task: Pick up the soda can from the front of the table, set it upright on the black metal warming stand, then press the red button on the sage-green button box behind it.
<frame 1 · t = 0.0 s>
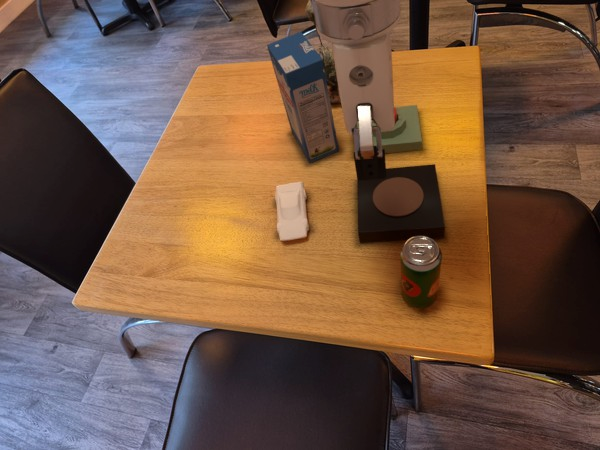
hand: (370, 146, 52), 22 cm above the table, tool pointing down, fingers open, 9 cm apart
plant with pod: (336, 95, 94), on the table
stand: (398, 208, 73), on the table
button box: (386, 134, 84), on the table
milk carton: (315, 142, 87), on the table
soda can: (419, 295, 64), on the table
red button: (385, 116, 80), point 4 cm above the table, slide at 0.1 cm
toy car: (293, 216, 77), on the table
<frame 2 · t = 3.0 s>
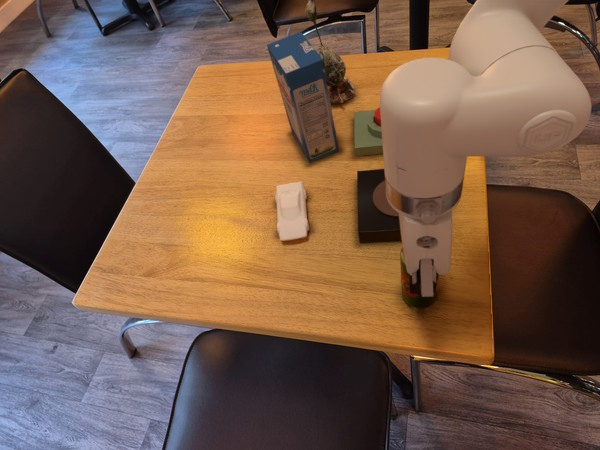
hand: (420, 270, 58), 7 cm above the table, tool pointing down, fingers closed on soda can, 5 cm apart
soda can: (419, 295, 64), on the table, touching gripper
everything else where it was.
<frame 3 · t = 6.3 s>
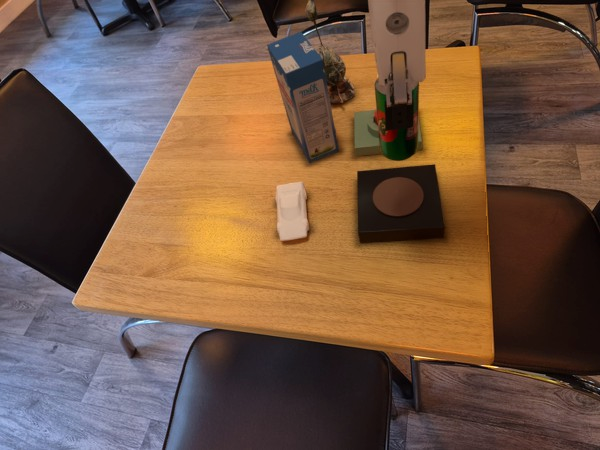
hand: (397, 110, 54), 22 cm above the table, tool pointing down, fingers closed on soda can, 5 cm apart
soda can: (398, 150, 60), point 15 cm above the table, touching gripper
everything else where it was.
when the fingers open (10 cm above the table, at t = 9.6 s): soda can stays where it is, resting on stand.
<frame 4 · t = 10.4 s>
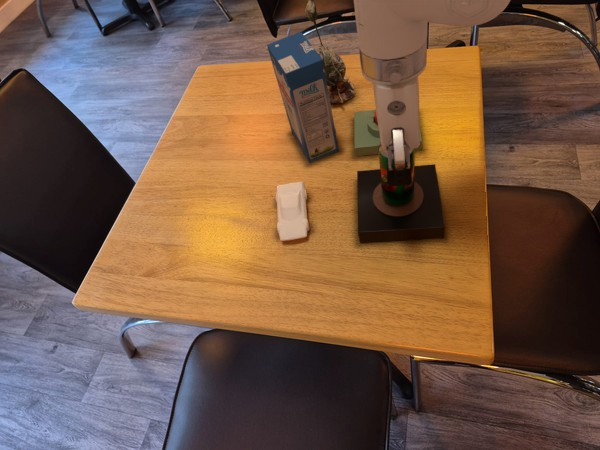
hand: (397, 158, 64), 12 cm above the table, tool pointing down, fingers open, 9 cm apart
soda can: (398, 196, 71), point 3 cm above the table, touching stand
everything else where it was.
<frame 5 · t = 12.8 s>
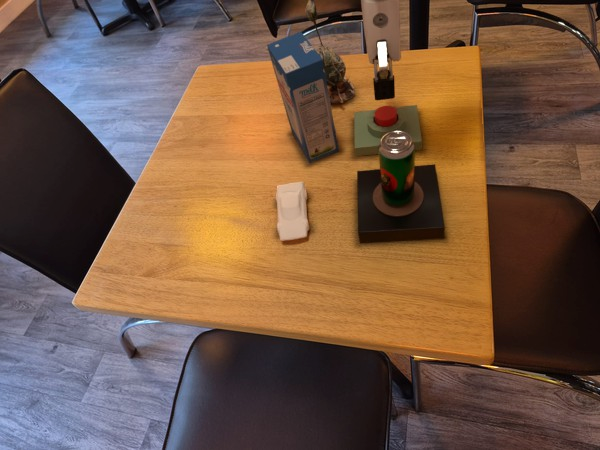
hand: (383, 79, 74), 13 cm above the table, tool pointing down, fingers open, 9 cm apart
nothing on the table moved.
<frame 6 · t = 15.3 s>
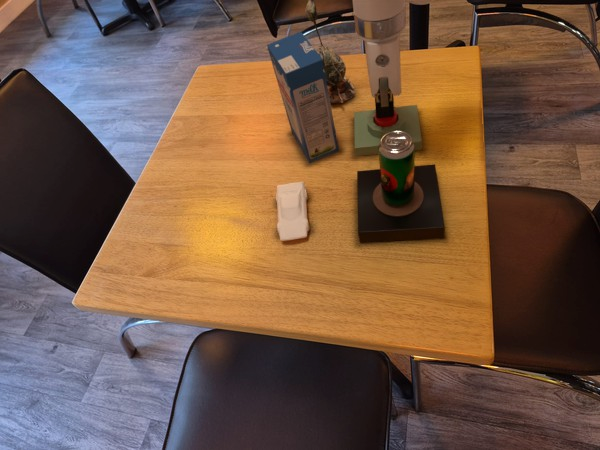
hand: (385, 114, 80), 5 cm above the table, tool pointing down, fingers closed
red button: (385, 118, 81), point 4 cm above the table, slide at -0.4 cm, touching gripper
everything else where it was.
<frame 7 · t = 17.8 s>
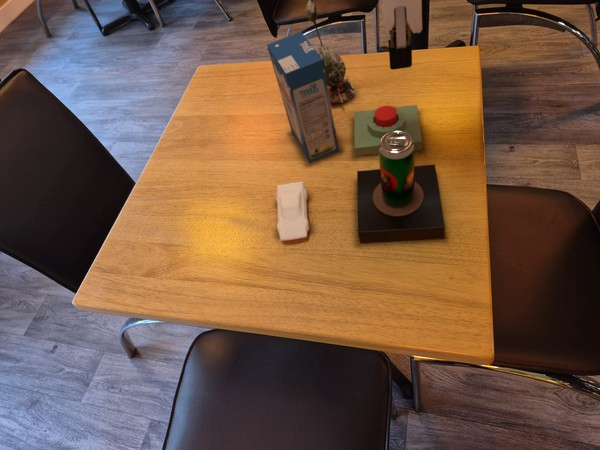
hand: (400, 65, 66), 18 cm above the table, tool pointing down, fingers closed
red button: (385, 116, 80), point 4 cm above the table, slide at 0.1 cm
everything else where it was.
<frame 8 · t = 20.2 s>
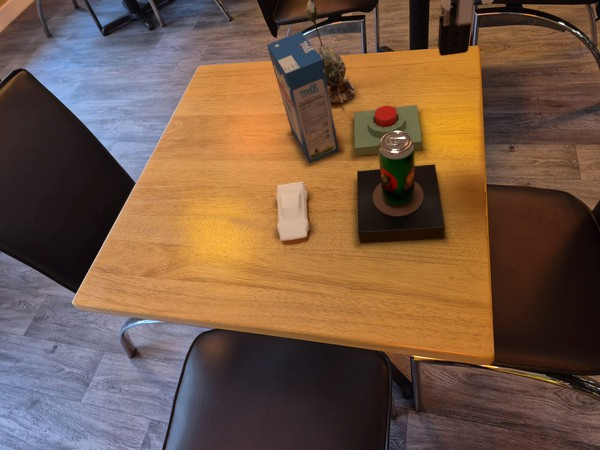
hand: (452, 50, 52), 27 cm above the table, tool pointing down, fingers closed
nothing on the table moved.
at the end: soda can inside the target area on the stand (0.1 cm from its centre), point 3.1 cm above the stand's base; soda can tilted 0°; red button pushed in 1.3 cm at the most during the clip, back to where it started at the end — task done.
